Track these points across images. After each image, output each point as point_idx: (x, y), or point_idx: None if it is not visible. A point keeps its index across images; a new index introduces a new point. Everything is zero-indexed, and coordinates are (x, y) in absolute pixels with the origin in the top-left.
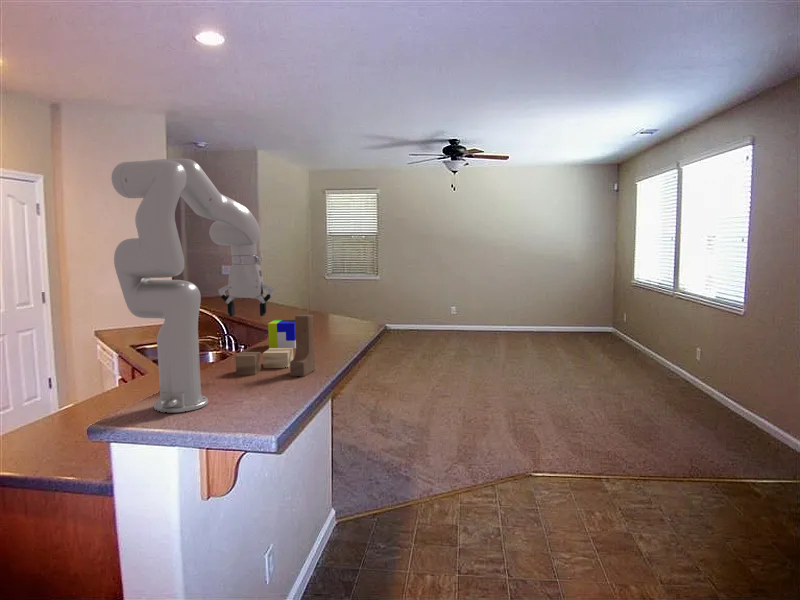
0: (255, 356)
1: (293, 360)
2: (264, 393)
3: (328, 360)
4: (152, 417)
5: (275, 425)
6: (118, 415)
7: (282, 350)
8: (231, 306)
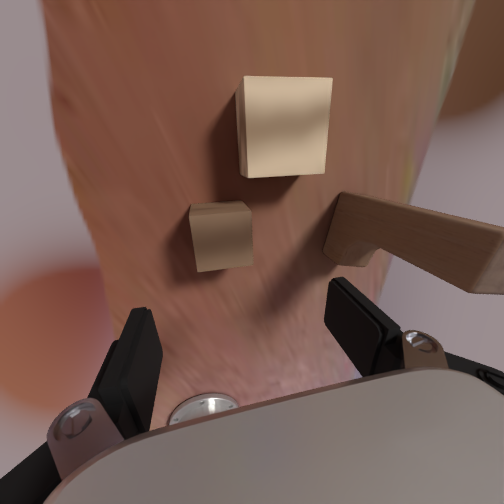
0: (252, 257)
1: (346, 258)
2: (298, 350)
3: (404, 58)
4: None
5: None
6: None
7: (303, 132)
8: (151, 413)
